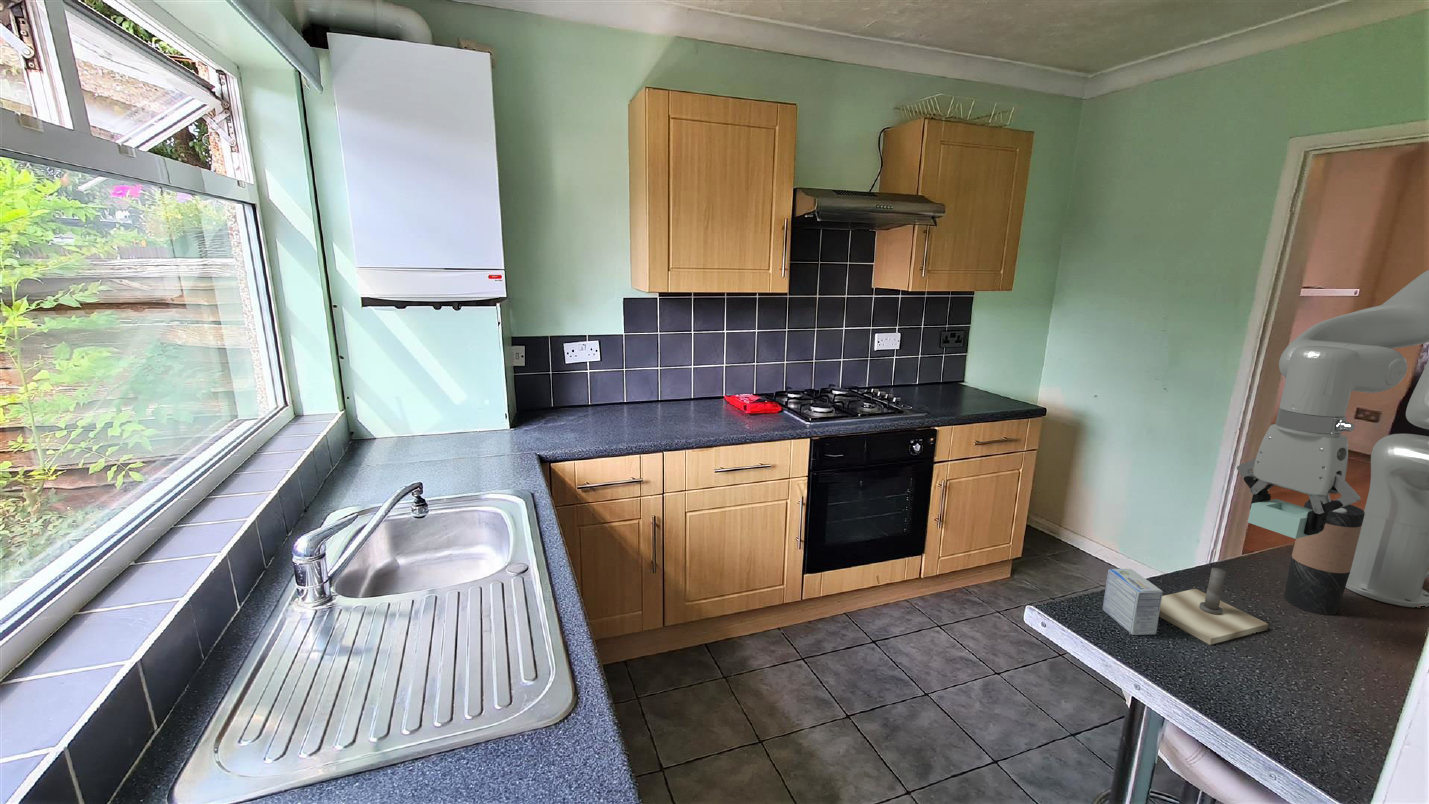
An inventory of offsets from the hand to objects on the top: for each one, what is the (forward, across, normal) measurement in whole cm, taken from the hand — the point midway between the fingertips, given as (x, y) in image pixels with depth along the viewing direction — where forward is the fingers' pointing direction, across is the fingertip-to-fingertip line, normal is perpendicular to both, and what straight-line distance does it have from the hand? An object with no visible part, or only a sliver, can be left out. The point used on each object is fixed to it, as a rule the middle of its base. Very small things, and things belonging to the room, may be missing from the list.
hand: (1283, 523), depth 97 cm
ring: (+1, 0, 0) cm, 1 cm away
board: (+20, +6, +6) cm, 22 cm away
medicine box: (+21, +9, +20) cm, 30 cm away
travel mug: (+20, +2, -18) cm, 27 cm away
